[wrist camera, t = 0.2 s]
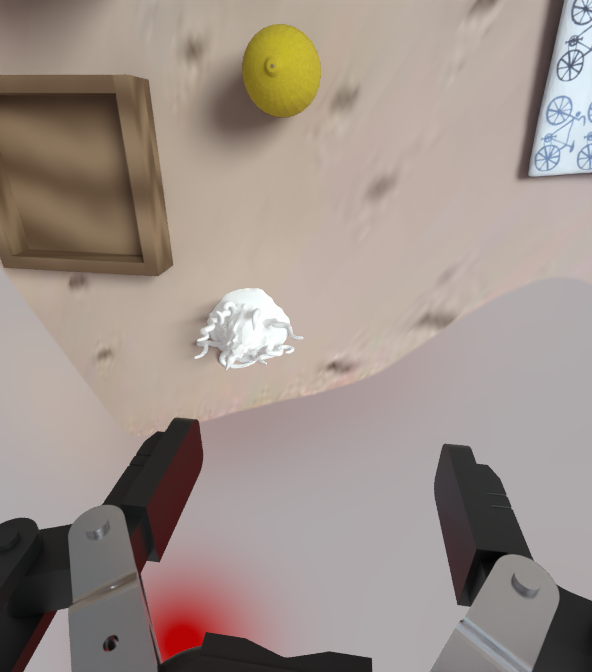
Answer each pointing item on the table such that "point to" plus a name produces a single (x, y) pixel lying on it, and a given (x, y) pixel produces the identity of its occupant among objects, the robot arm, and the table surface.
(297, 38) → the lemon
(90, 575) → the robot arm
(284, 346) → the white jellyfish figurine
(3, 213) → the tray
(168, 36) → the table surface
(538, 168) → the white flat slab
